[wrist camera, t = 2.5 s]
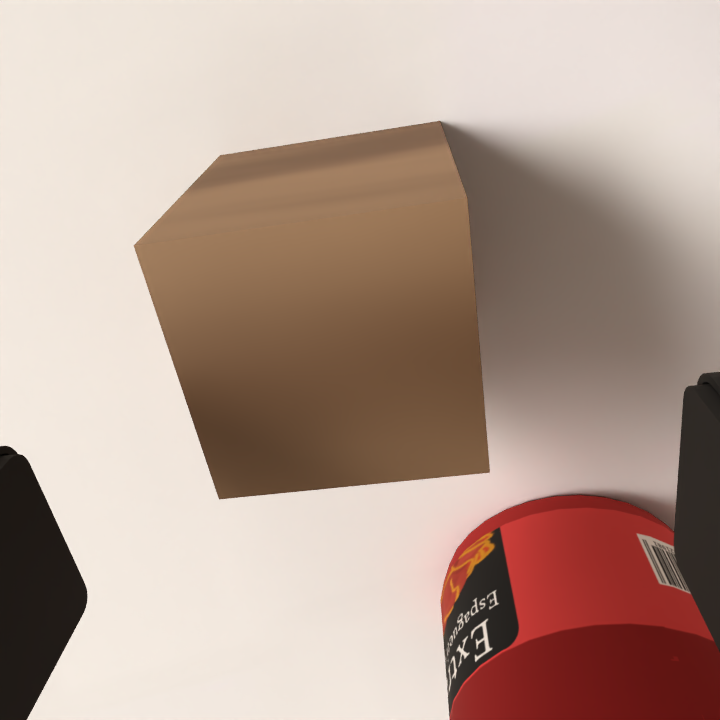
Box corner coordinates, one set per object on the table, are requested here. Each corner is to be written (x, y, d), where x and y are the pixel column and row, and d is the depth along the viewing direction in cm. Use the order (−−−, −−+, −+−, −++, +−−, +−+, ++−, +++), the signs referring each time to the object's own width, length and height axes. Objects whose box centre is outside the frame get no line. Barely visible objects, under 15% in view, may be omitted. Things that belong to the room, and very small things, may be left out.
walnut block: (220, 155, 15) (134, 245, 10) (440, 120, 15) (467, 197, 10) (268, 346, 18) (219, 499, 13) (459, 322, 17) (489, 472, 12)
